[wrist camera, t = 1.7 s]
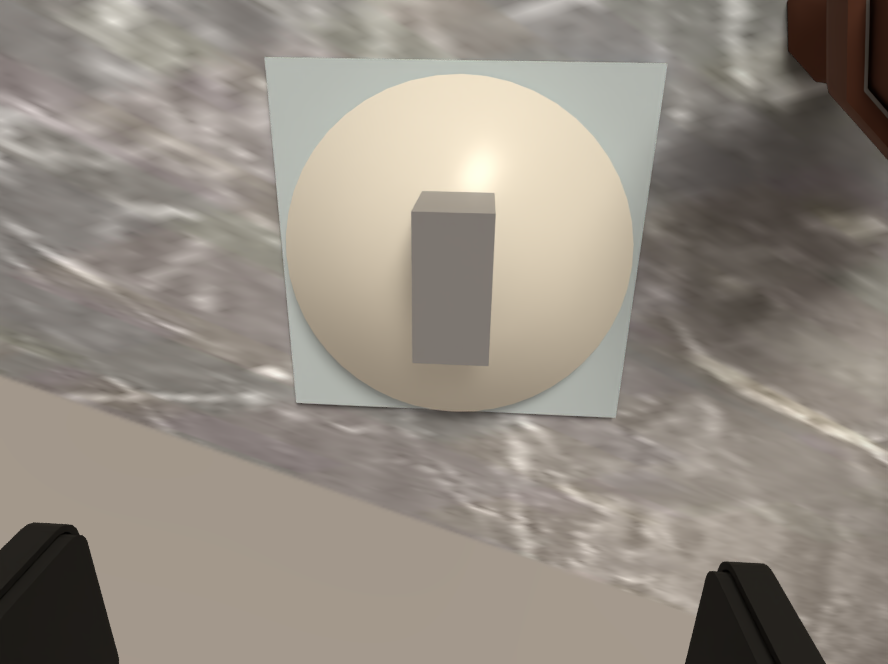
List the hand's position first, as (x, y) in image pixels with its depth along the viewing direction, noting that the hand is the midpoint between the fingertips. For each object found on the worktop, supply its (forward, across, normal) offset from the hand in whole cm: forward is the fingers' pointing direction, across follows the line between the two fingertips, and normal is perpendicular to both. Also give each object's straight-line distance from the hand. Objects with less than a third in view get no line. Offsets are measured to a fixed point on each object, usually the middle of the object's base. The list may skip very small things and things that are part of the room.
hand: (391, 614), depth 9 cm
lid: (+20, 0, 0) cm, 20 cm away
